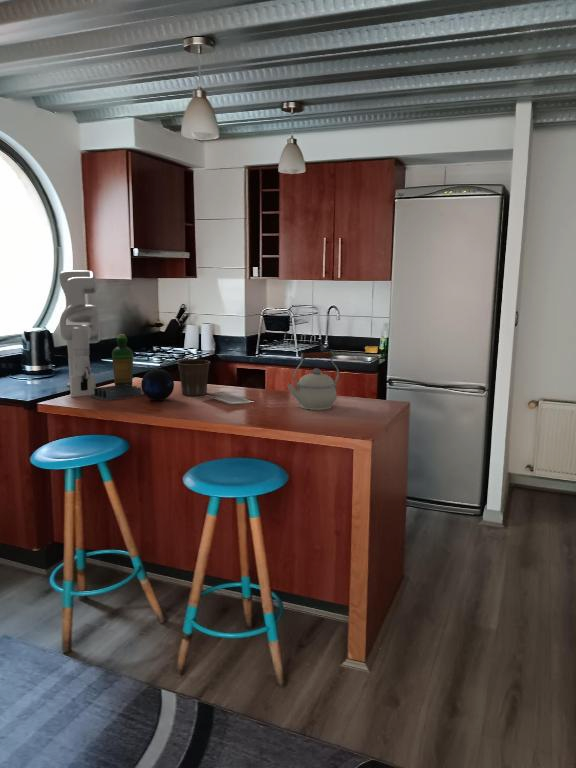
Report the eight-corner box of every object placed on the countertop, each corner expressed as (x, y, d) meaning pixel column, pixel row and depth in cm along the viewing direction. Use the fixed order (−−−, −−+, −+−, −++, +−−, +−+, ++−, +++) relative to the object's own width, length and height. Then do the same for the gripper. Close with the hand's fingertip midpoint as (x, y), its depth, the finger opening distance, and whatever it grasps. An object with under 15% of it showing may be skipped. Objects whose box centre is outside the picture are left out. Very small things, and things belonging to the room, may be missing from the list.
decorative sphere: (138, 403, 288) (137, 371, 285) (145, 397, 302) (144, 366, 300) (171, 403, 288) (171, 371, 286) (176, 397, 303) (175, 366, 300)
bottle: (109, 389, 321) (106, 335, 316) (120, 386, 331) (118, 333, 326) (127, 390, 318) (125, 335, 313) (138, 387, 328) (136, 334, 323)
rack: (90, 396, 303) (89, 388, 302) (130, 391, 317) (130, 383, 317) (103, 401, 293) (103, 392, 292) (145, 395, 307) (145, 387, 307)
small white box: (70, 396, 302) (69, 376, 300) (93, 393, 310) (93, 373, 309) (72, 397, 301) (71, 376, 299) (95, 393, 309) (94, 373, 307)
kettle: (329, 401, 296) (330, 349, 291) (346, 409, 279) (348, 354, 275) (279, 405, 287) (280, 351, 282) (294, 413, 270) (295, 356, 266)
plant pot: (205, 397, 302) (204, 364, 300) (173, 396, 305) (172, 363, 302) (214, 391, 318) (214, 360, 316) (183, 390, 321) (183, 359, 318)
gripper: (66, 351, 305) (68, 388, 308) (81, 354, 294) (83, 393, 297) (81, 350, 310) (83, 386, 313) (96, 353, 299) (97, 391, 302)
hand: (83, 389), depth 305 cm, fingers closed on small white box, 2 cm apart
